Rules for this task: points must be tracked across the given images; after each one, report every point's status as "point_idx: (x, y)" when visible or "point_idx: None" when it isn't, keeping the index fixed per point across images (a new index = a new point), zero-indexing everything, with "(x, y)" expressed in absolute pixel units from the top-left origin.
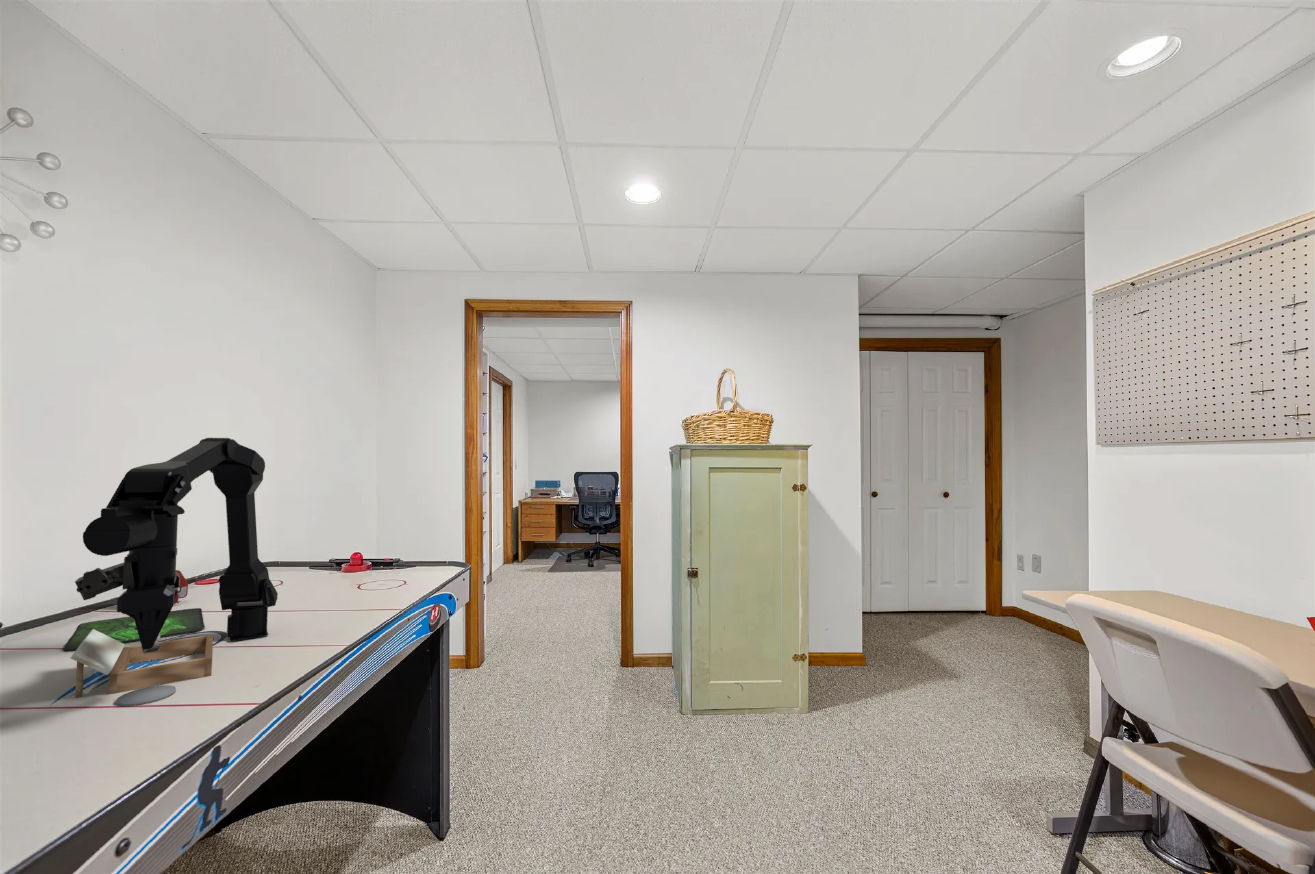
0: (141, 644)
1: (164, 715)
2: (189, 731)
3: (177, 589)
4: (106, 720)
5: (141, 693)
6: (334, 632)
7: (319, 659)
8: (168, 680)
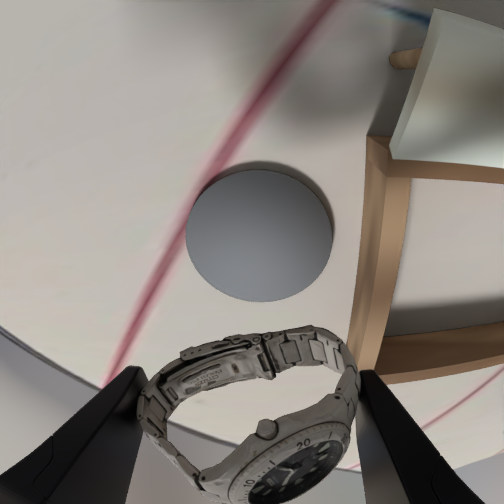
0: (112, 381)
1: (91, 285)
2: (22, 314)
3: None
4: (104, 178)
5: (273, 230)
6: (439, 450)
7: None
8: (358, 281)
